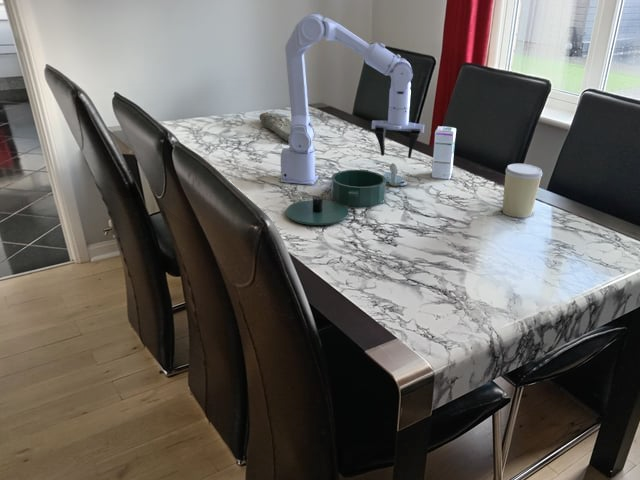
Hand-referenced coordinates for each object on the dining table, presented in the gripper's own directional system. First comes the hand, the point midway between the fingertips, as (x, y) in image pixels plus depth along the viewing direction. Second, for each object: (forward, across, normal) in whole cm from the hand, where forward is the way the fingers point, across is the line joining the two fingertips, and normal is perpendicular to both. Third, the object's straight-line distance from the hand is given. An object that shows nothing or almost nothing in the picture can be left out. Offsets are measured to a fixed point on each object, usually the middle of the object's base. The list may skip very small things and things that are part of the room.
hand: (396, 155), depth 164 cm
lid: (+8, -16, -28) cm, 34 cm away
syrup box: (+9, +13, +12) cm, 20 cm away
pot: (+8, -9, -13) cm, 18 cm away
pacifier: (+9, 0, +1) cm, 9 cm away
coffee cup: (+9, +34, -13) cm, 38 cm away
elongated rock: (+9, -47, +47) cm, 67 cm away
